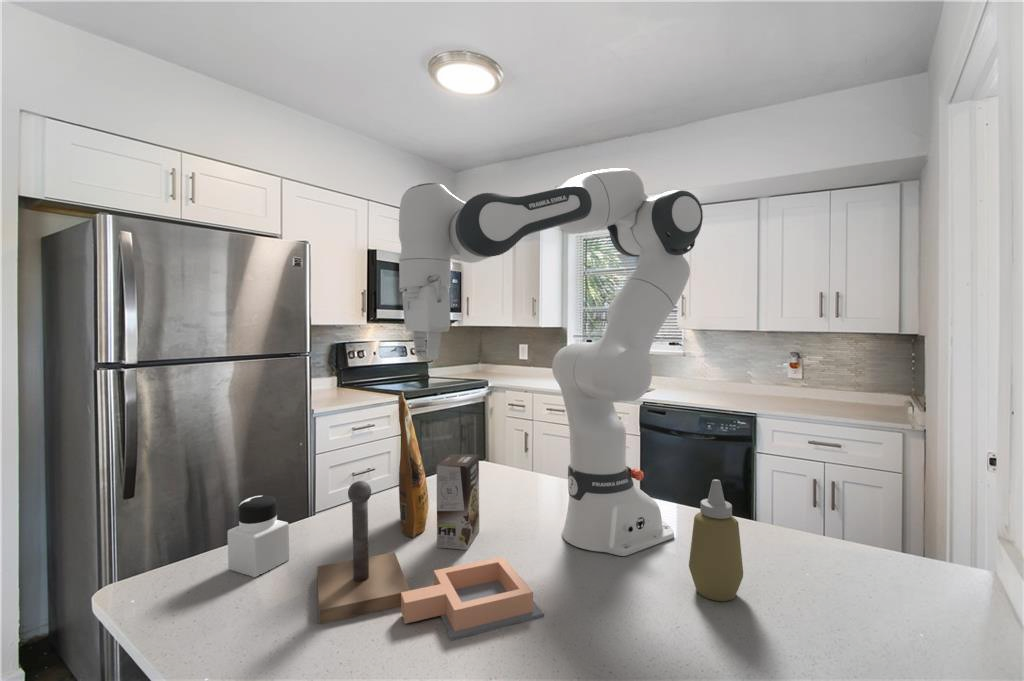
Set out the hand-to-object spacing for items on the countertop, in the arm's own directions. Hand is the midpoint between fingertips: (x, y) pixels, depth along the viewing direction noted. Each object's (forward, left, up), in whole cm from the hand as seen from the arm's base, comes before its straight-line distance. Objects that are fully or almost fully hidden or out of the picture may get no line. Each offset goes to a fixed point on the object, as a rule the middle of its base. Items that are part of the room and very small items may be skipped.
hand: (426, 357), depth 87 cm
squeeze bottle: (-40, +27, -37) cm, 61 cm away
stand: (+12, +4, -37) cm, 39 cm away
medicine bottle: (+28, -12, -37) cm, 48 cm away
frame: (-2, +15, -37) cm, 40 cm away
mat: (-5, +15, -37) cm, 40 cm away
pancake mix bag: (-1, -20, -37) cm, 42 cm away
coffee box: (-8, -8, -37) cm, 39 cm away
